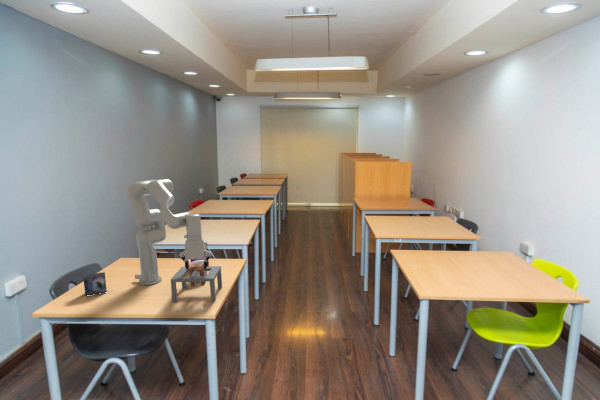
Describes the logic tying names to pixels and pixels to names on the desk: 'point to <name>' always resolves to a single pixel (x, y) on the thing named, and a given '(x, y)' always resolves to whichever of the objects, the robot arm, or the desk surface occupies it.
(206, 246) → the candy bar box
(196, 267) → the u-shaped wooden block
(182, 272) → the grey square frame
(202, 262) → the photo printer
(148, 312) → the desk surface
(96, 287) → the small box
